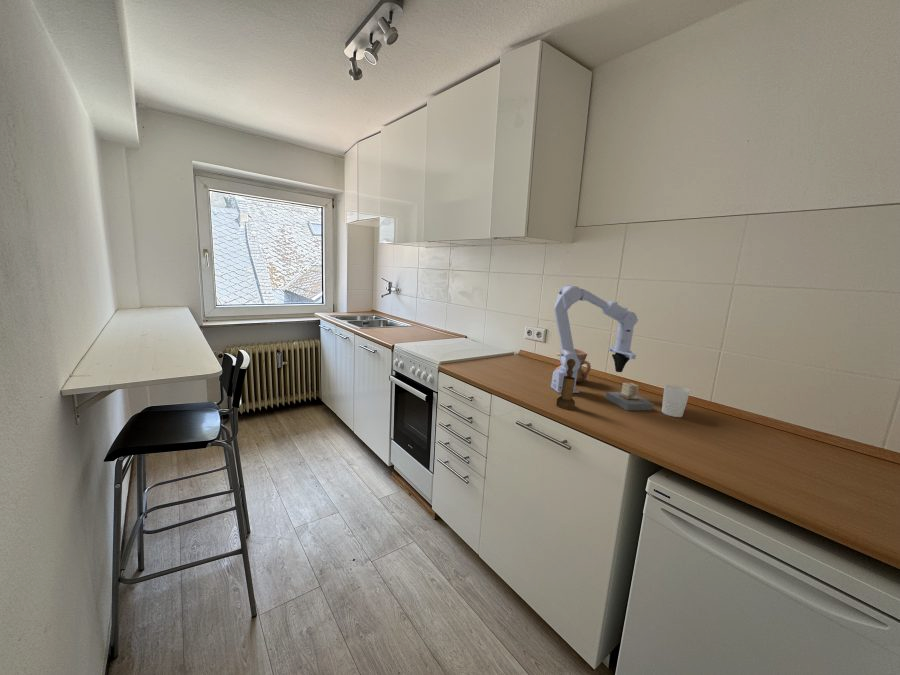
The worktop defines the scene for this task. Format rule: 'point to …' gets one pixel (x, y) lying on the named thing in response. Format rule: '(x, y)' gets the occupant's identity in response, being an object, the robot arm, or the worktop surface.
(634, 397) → the peg
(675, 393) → the white cup
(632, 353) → the robot arm
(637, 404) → the socket board
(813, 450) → the worktop surface
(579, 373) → the ceramic jug
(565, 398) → the brown capped rod
